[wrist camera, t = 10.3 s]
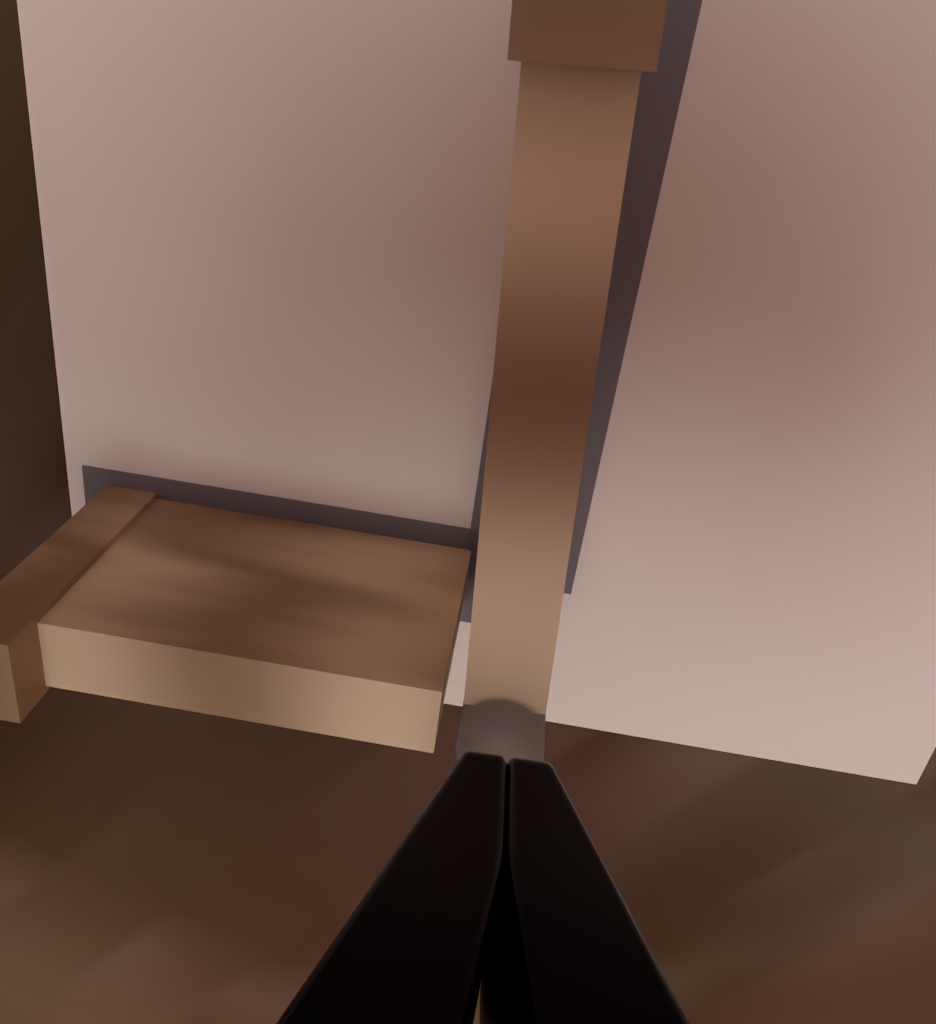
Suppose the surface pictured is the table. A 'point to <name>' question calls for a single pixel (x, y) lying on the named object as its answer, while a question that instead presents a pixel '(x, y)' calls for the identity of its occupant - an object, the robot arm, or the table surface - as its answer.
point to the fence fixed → (235, 619)
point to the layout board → (474, 319)
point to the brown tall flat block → (548, 343)
